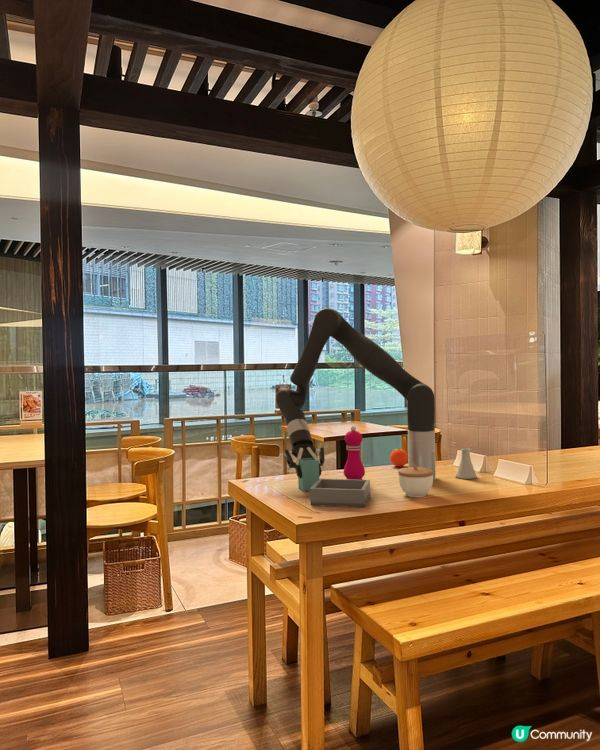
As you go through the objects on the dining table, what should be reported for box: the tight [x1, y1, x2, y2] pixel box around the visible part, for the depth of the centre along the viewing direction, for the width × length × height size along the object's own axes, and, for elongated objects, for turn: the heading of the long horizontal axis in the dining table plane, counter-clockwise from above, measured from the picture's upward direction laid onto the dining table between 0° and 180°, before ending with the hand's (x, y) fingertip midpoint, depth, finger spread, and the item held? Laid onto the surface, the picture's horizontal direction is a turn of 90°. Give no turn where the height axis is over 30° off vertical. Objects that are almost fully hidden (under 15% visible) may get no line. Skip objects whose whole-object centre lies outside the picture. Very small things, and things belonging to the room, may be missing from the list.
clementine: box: [387, 448, 408, 468], centre depth 232 cm, size 8×7×7 cm
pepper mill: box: [343, 425, 366, 480], centre depth 202 cm, size 7×7×20 cm
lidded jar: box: [397, 465, 434, 498], centre depth 186 cm, size 11×11×9 cm
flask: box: [455, 448, 477, 480], centre depth 210 cm, size 7×7×10 cm
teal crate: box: [297, 457, 320, 493], centre depth 197 cm, size 6×6×10 cm
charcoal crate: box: [309, 478, 371, 508], centre depth 182 cm, size 16×14×5 cm
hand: (310, 475), depth 196 cm, fingers closed on teal crate, 5 cm apart
